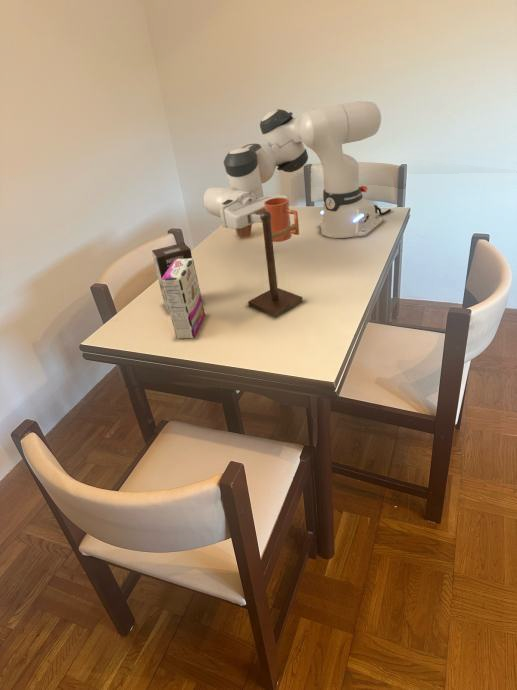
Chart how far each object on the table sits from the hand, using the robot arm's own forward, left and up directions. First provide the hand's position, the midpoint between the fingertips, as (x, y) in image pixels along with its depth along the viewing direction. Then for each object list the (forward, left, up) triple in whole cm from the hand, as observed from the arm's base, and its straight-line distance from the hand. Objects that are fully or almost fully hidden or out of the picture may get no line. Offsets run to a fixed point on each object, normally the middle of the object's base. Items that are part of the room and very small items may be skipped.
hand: (277, 215), depth 130 cm
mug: (0, +2, -6) cm, 7 cm away
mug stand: (+11, +10, -18) cm, 23 cm away
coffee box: (+28, -11, -18) cm, 35 cm away
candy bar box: (+34, +1, -18) cm, 39 cm away
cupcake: (-16, -35, -18) cm, 43 cm away
